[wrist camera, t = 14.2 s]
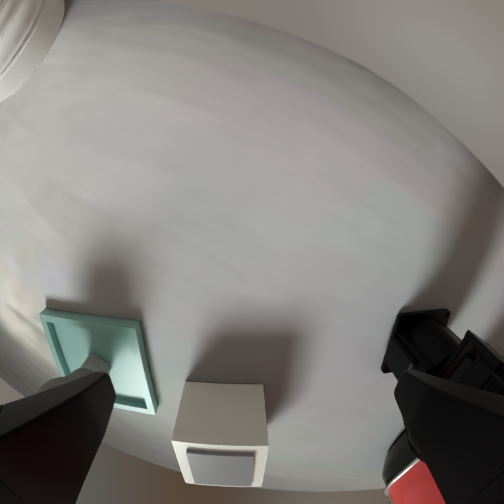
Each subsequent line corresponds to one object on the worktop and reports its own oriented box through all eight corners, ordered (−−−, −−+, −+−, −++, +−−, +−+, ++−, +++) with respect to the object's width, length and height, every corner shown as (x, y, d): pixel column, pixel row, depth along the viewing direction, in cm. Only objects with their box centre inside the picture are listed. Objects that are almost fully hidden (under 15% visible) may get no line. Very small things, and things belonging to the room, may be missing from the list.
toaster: (348, 469, 29) (382, 590, 7) (460, 354, 24) (564, 483, 2) (450, 460, 34) (486, 529, 12) (522, 379, 29) (578, 444, 6)
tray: (140, 321, 21) (135, 328, 20) (158, 406, 24) (155, 414, 23) (45, 308, 21) (39, 313, 19) (74, 388, 23) (69, 395, 22)
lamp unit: (263, 384, 23) (269, 449, 16) (258, 435, 25) (261, 490, 18) (185, 381, 23) (170, 444, 16) (193, 432, 25) (185, 487, 18)
